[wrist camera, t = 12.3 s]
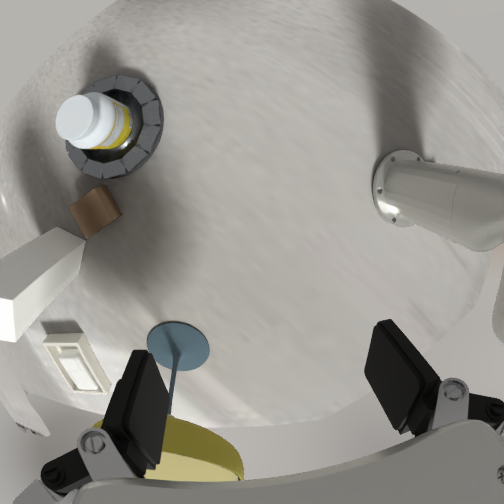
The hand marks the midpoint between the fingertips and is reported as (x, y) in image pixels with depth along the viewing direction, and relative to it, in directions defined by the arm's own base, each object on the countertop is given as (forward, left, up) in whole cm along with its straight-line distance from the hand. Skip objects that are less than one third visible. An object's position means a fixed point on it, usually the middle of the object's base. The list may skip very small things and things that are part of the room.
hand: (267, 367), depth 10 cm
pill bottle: (+14, -15, -28) cm, 35 cm away
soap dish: (+35, +22, -28) cm, 50 cm away
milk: (+27, 0, -28) cm, 39 cm away
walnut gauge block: (+19, -5, -28) cm, 34 cm away
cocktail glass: (+13, +20, -28) cm, 37 cm away
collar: (+15, -16, -28) cm, 35 cm away
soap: (+34, +23, -28) cm, 50 cm away
